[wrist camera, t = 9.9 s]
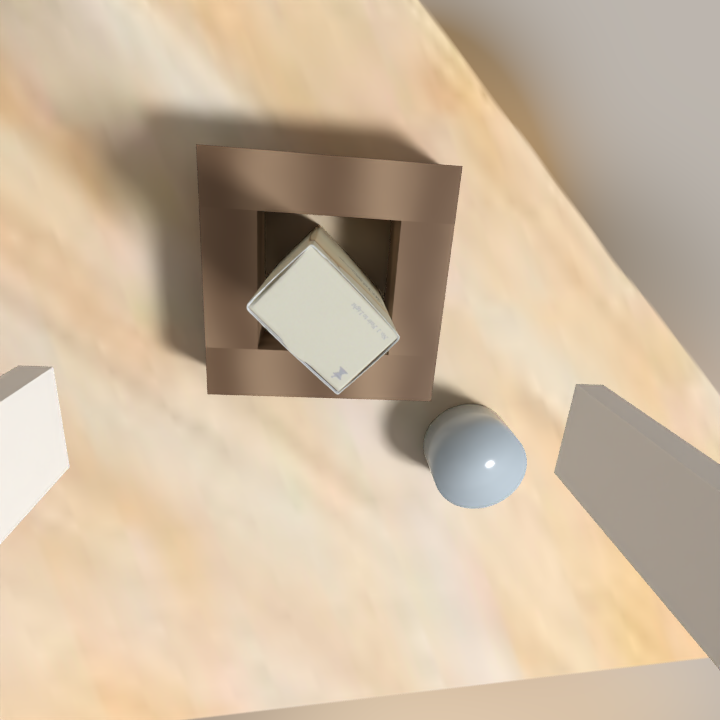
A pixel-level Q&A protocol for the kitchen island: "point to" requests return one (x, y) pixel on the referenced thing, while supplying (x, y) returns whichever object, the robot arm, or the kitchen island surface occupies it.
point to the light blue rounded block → (474, 456)
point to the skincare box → (325, 311)
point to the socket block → (332, 198)
